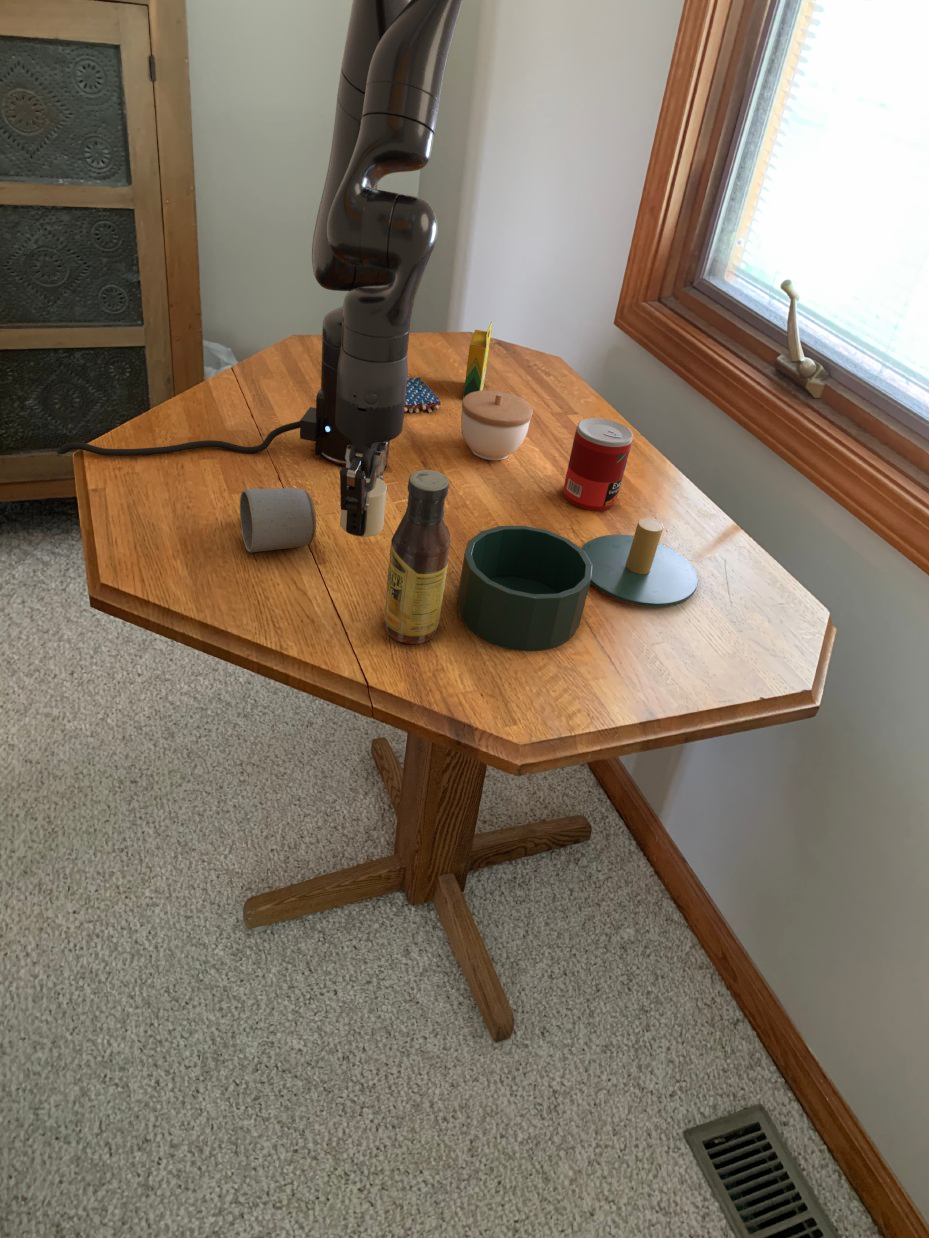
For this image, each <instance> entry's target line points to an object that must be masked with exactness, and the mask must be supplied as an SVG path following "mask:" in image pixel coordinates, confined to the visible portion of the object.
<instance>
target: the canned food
mask: <svg viewBox="0 0 929 1238" xmlns="http://www.w3.org/2000/svg"><path fill="white" fill-rule="evenodd" d="M633 438H634V433H633V432H632V430H631V429H630V428H628V426H626V425H624V424H622V423H620V422H617V421H615V420H612V419H607V418H602V417H587V418H583V419H582V420H579V422H578V423H577V426H576V428H575V433H574V436H573V442H572V446H571V452H570V455H569V460H568V464H567V469H566V474H565V479H564V484H563V496H564V498H565V499H566V500H567V501H568V502H569V503H571V504H572V505H573V506H575V507H578V508H581V509H583V510H587V511H594V512H596V511H597V512H600V511H605V510H609V509H611V508H612V507H613V506H614V505H615V504H616V502H617V500H618V496H619V494H620V490H621V486H622V483H623V478H624V475H625V471H626V467H627V463H628V459H629V455H630V453H631V448H632V443H633Z"/></svg>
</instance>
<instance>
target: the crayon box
mask: <svg viewBox="0 0 929 1238" xmlns="http://www.w3.org/2000/svg"><path fill="white" fill-rule="evenodd" d="M492 324H493V322H492V321H490V324H489V325H488V328H487V331H485V330H481V329H474V332H473V335H472V337H471V340H470V343H469V348H468V354H467V355H468V356H467V361H466V362H467V363H466V370H465V371H466V372H465V379H464V387H463V396H462V399H463V398H464V397H465V396H466V395H468V394H470V393H472V392H476V391H483V390H484V387H485V380H486V372H487V365H488V356H489V352H490V351H489V349H490V343H491V336H492Z"/></svg>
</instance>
